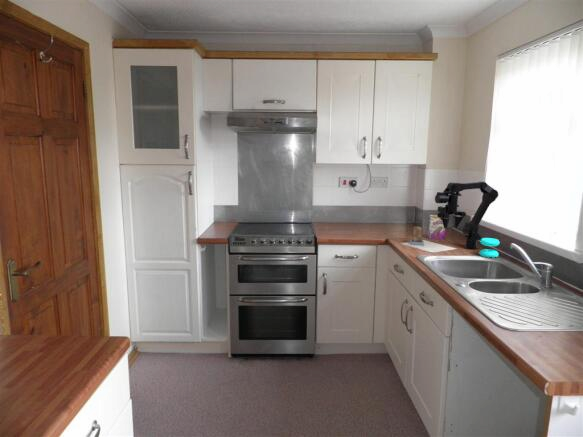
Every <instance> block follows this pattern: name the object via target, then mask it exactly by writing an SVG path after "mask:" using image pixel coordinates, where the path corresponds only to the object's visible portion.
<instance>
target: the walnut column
mask: <svg viewBox="0 0 583 437" xmlns="http://www.w3.org/2000/svg"><path fill="white" fill-rule="evenodd" d="M412 230H413V231H412V240H413V242H421V240H422V230H423V229H422V227H421V226H413V229H412Z"/></svg>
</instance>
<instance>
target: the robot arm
mask: <svg viewBox="0 0 583 437" xmlns="http://www.w3.org/2000/svg"><path fill="white" fill-rule="evenodd" d="M476 189H479V191H480V192H481V193H482V197H481V202H480V204H479V206H478V207H477V209H476V211H475V213H474V215H473V216H472V218H471V219H470V221H469V222H465V224H464V226H463V227H462V233H463V234H464V237H465V238H466V241H465V242H466V243H465V245H464V248H465V249H469V250H477V249H480V247H478V241H479V240H481V239H482V237H481V235H480V234H479V233H478V232H479V225H480V223H481V221H482V220H483V218H484V216H485V214H486V212H487V210H488V209H489V207H490V205H491V204H492V203H494V202H495V201H496V200H497V199H498V197H499V191H498V190H496V189H494V187H492V186H491V185H489V184H488V183H487V182H486V181H477V182H465V183H464V182H462V183H461V182H454V181H453V182H449V183H448V184H447V185H446V188H445V189H444V190H443V191H441V192H439V191H437V192H436V194H435V196H434V202H435V203H436V204H445V206H442V205H441V206H437V212H438V213H437V214H436V215H437V217H439V218H440V219H441V220H442V222H443V225H444V229H446V230H447V228H448V224H449V222H450V217H454V228H456V229H457V228H458V227H459V225H460V223H461V222H462V220H463V219H464V218H465V217H466V215H467V213H466V211H463V210H458V207H459V206H460V205H459V203H458V201H459V197H462V194H461V193H460V192H462V191H465V190H466V191H467V190H476Z"/></svg>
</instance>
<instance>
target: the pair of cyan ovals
mask: <svg viewBox="0 0 583 437" xmlns="http://www.w3.org/2000/svg"><path fill="white" fill-rule="evenodd" d="M500 243H501V242H500V241H499V239H497V238H490V237H482V238H480V244H481V245H483V246H484V247H485V246H486V247H498V246H500ZM479 256H481V257H484V258H487V257H492V258H491V259H495V257H496V258H498V257H499V252H498V251H497V250H495V249H488V248H484V249H481V250H479Z"/></svg>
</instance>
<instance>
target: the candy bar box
mask: <svg viewBox="0 0 583 437" xmlns="http://www.w3.org/2000/svg"><path fill="white" fill-rule="evenodd" d="M428 219H429V221H428V231H427V232H428V234H427V236H428V239H433V240H434V239H435V240H446V235H447V234H446V231H447V228H446V229H444V225H443V222H442V220H441V219H440V218H439V217H437V214H429V218H428Z"/></svg>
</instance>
